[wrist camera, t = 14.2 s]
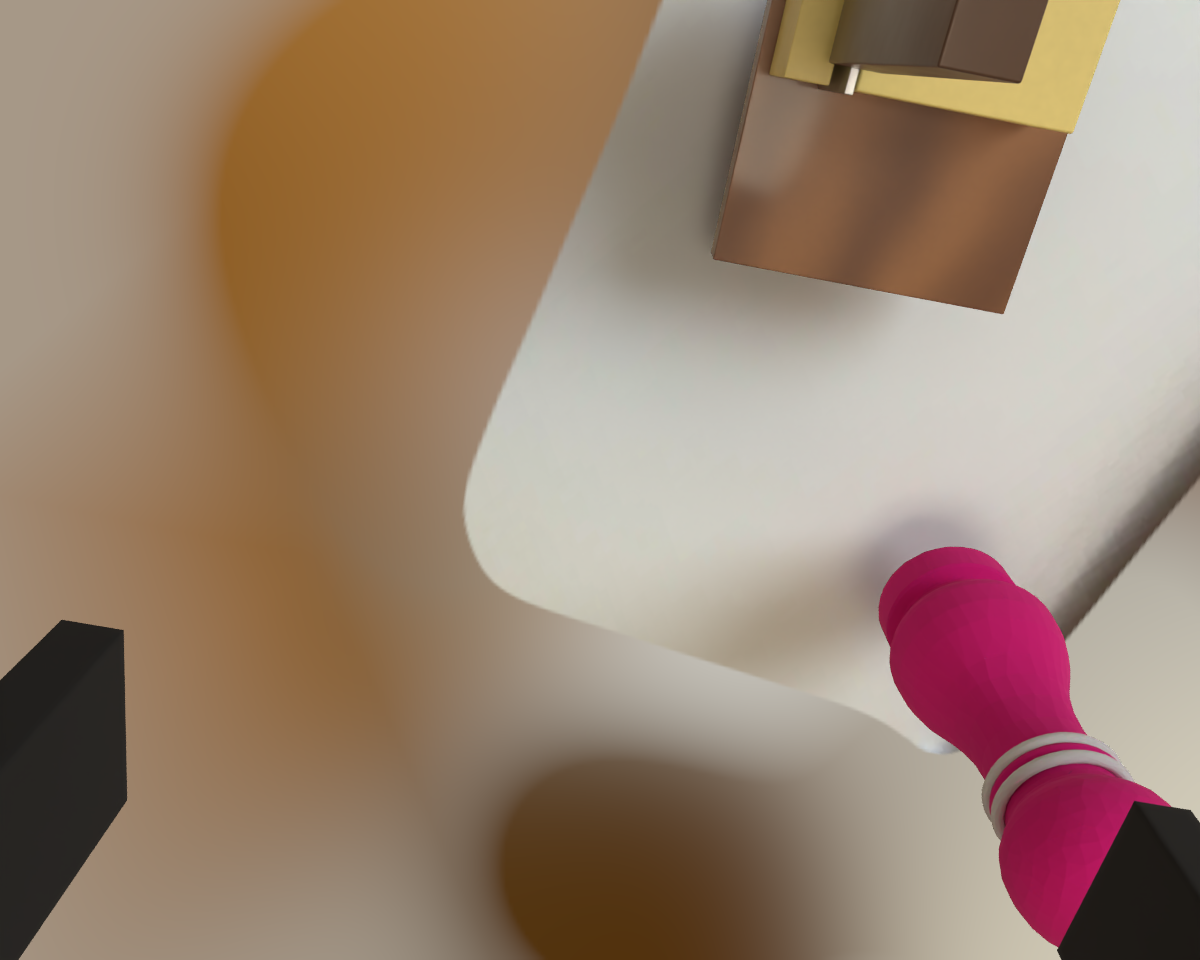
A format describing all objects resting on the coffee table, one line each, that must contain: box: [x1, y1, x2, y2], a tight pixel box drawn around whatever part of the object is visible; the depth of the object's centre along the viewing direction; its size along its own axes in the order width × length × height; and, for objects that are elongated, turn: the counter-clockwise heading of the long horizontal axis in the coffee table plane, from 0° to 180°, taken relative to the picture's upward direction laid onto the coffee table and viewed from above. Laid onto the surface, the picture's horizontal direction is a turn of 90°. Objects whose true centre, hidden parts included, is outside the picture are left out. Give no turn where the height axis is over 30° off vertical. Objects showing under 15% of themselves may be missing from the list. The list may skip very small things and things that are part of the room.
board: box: [711, 0, 1068, 314], centre depth 37 cm, size 12×12×2 cm
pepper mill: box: [879, 547, 1171, 947], centre depth 37 cm, size 7×7×20 cm
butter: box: [769, 0, 1120, 134], centre depth 34 cm, size 10×4×4 cm, turn 80°
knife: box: [818, 0, 1049, 95], centre depth 27 cm, size 2×5×17 cm, turn 170°
